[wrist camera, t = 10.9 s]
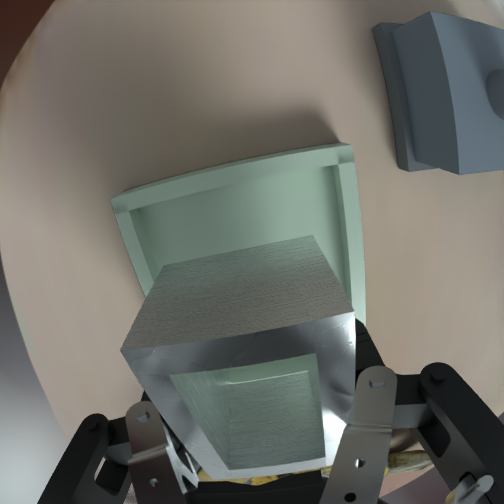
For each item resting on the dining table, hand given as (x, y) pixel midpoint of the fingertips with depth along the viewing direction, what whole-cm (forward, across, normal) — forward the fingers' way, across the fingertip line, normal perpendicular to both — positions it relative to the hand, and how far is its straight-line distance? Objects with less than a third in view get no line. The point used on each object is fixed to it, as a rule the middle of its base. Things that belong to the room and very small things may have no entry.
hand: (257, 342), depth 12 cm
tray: (+5, 0, 0) cm, 5 cm away
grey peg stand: (+5, -13, -9) cm, 17 cm away
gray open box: (+1, 0, 0) cm, 1 cm away
